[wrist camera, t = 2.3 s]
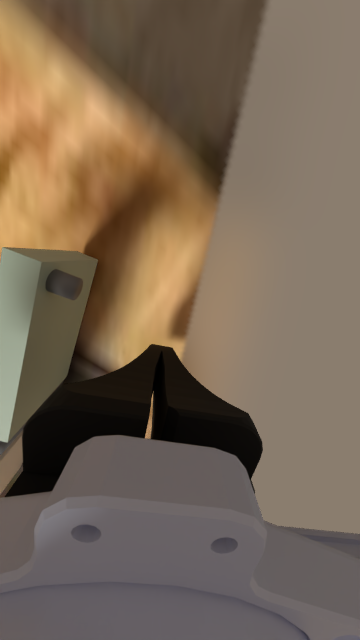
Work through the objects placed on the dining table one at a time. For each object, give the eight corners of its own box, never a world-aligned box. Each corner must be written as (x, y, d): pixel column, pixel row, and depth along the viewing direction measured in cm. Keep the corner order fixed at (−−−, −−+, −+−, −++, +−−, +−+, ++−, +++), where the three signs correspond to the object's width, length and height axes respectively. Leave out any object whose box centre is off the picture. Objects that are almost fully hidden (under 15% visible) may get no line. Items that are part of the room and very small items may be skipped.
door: (45, 383, 13) (-24, 452, 9) (77, 251, 11) (2, 247, 6) (76, 392, 14) (25, 464, 9) (113, 265, 11) (69, 272, 6)
